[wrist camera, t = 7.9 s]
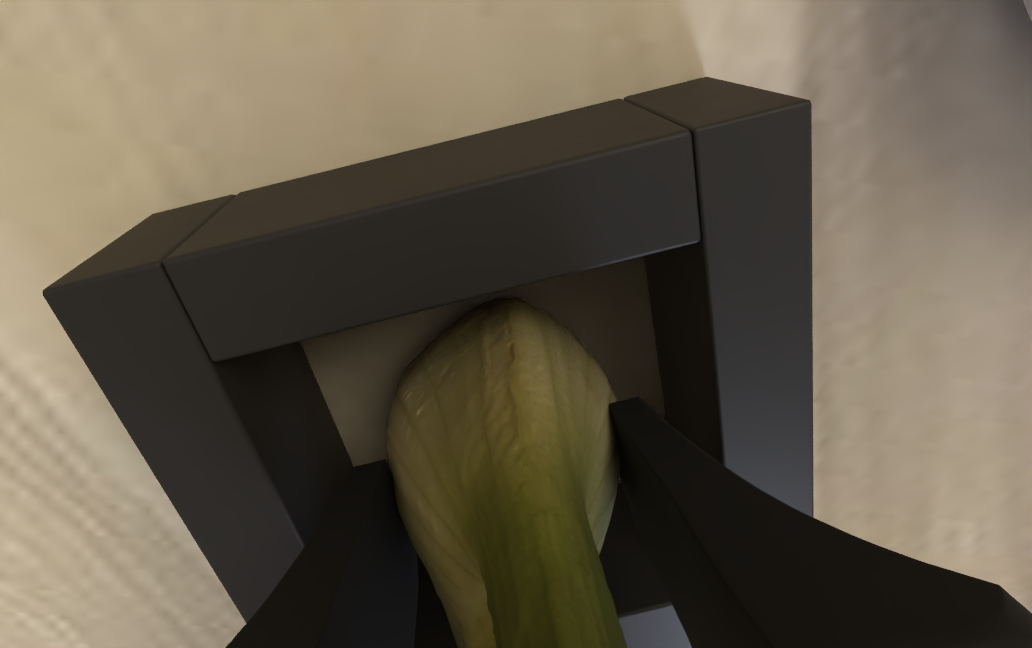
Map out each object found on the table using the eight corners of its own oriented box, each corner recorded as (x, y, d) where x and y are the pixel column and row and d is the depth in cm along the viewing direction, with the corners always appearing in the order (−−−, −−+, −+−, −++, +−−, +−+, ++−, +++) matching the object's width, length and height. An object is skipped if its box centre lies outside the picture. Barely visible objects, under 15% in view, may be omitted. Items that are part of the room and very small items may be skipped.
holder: (344, 600, 18) (320, 745, 14) (149, 213, 13) (37, 291, 9) (740, 501, 18) (815, 622, 14) (708, 75, 13) (813, 98, 9)
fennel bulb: (463, 233, 14) (559, 1029, 3) (645, 326, 15) (1149, 1079, 4) (352, 433, 16) (164, 1360, 5) (524, 498, 17) (669, 1314, 6)
